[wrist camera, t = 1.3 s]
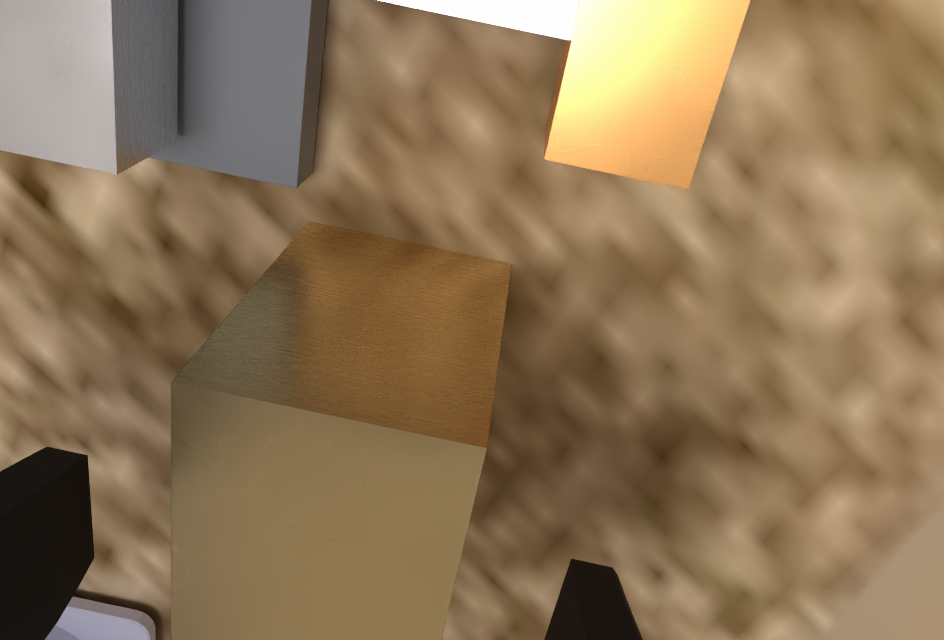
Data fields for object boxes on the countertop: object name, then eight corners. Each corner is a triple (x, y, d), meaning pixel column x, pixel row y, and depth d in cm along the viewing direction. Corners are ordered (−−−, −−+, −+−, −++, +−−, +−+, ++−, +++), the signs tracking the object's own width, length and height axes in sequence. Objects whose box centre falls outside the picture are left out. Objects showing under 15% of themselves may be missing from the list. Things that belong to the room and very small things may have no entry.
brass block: (458, 499, 18) (415, 745, 12) (287, 463, 18) (171, 694, 12) (511, 263, 15) (487, 448, 9) (309, 220, 15) (171, 381, 10)
